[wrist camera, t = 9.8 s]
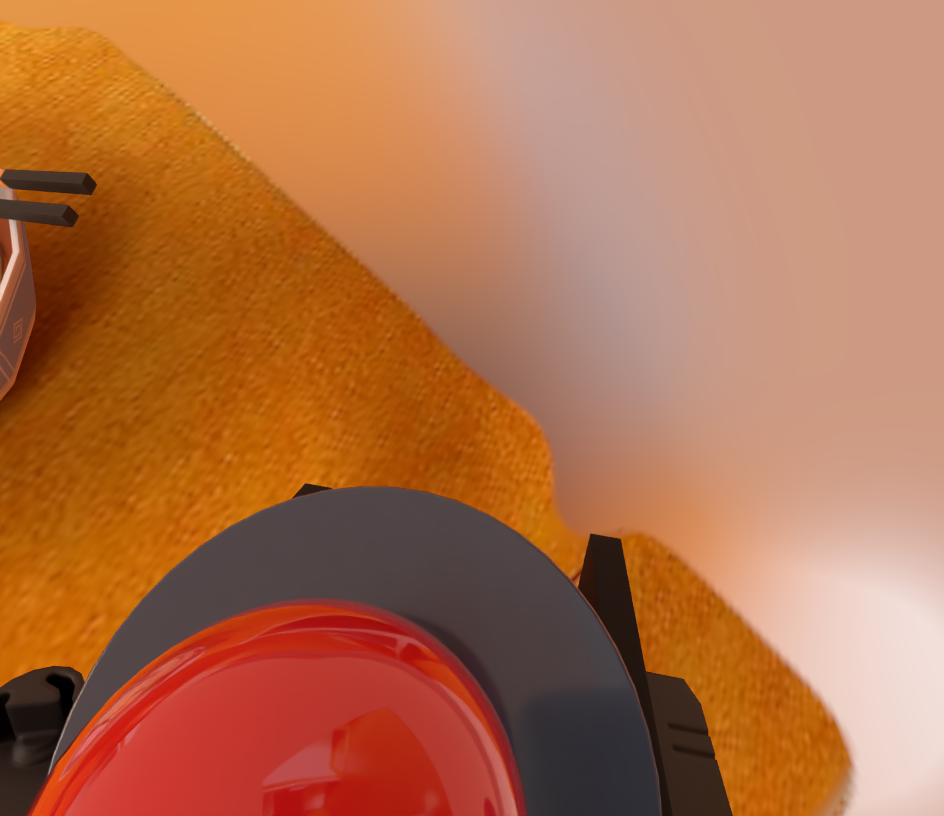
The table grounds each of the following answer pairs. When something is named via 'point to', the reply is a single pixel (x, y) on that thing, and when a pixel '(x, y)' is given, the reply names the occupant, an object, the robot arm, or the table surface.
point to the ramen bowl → (26, 255)
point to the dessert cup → (358, 678)
